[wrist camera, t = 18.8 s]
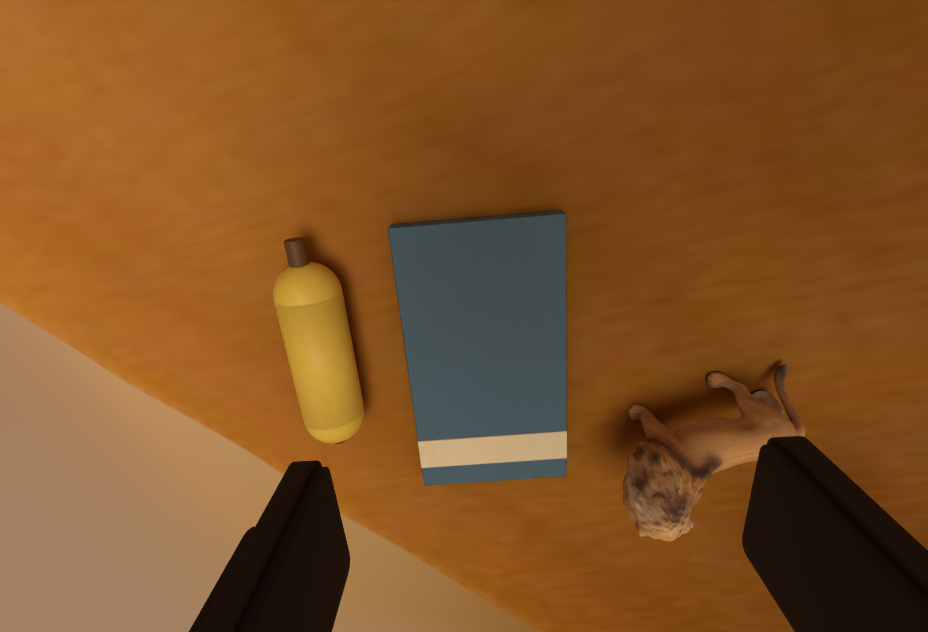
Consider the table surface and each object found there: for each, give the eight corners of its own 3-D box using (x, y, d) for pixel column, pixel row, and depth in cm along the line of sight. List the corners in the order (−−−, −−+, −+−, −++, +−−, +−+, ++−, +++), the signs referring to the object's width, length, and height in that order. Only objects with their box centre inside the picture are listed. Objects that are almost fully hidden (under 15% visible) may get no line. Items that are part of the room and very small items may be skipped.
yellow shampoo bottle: (381, 431, 34) (344, 466, 31) (337, 420, 36) (297, 453, 32) (345, 231, 29) (296, 247, 25) (296, 231, 30) (244, 245, 27)
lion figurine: (614, 473, 37) (659, 572, 29) (583, 427, 35) (621, 517, 27) (792, 386, 34) (900, 467, 26) (767, 331, 32) (874, 398, 24)
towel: (391, 224, 30) (387, 228, 28) (561, 209, 29) (566, 213, 28) (425, 472, 37) (424, 486, 35) (562, 463, 37) (566, 477, 35)
